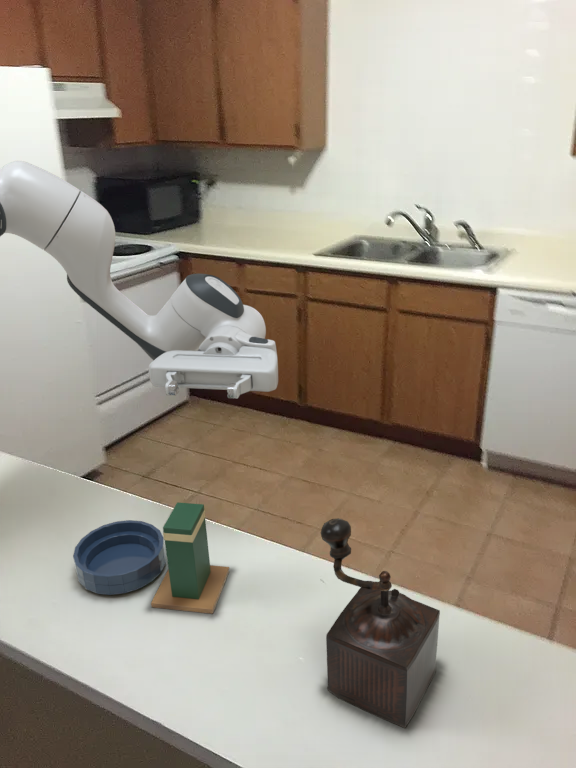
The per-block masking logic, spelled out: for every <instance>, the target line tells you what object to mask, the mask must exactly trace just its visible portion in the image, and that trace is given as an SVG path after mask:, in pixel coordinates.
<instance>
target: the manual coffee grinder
mask: <svg viewBox="0 0 576 768" xmlns="http://www.w3.org/2000/svg"><path fill="white" fill-rule="evenodd" d="M351 536H352V526H351V524H350V522H349V521H347V520H345V519H343V518H339V517H337V518H332V519H329V520H327V521H326V522H324V523H323V525H322V527H321V530H320V537H321V539H322V541H324V542H325V543H326V544H327V545H328V546H329V548H330V551H329V557H330V558H332V559H334V560H333V565H332V566H333V567H332V568H333V571H334V576H335V577H336V578H337V579H338V580H339V581H342V582H343V583H346V584H349V585H353V586H355V587H359V589H358V590H357V591H356V593H355V595H353V597H352V598H350V600H349V602H348V603H347V604H346V606H345V607H344V608H343V610H342V611H341V612H340V614H339V615H338V616H337V618H336V619H335V621H334V623H333V624H332V625H331V627H330V629H329V630H328V632H327V633H326V635H325V636H326V638H325V640H326V641H325V642H326V644H325V645H326V668H327V669H326V670H327V671H326V673H327V675H326V676H327V687H326V689H327V692H329V693H331V694H332V695H333V696H335V697H336V698H338V699H339V700H342V701H343V702H346V703H348V704H350V705H352V706H354V707H356V708H358V709H360V710H363V711H365V712H367V713H369V714H371V715H372V716H375V717H378V718H381V719H383V720H385V721H388V722H390V723H392V724H395V725H397V726H399V727H401V728H404V729H406V727H407V725H408V724H409V723H410V721H411V719H412V718H414V716H415V713H416V711H417V709H418V708H419V705H420V703H421V701H422V700H423V698H424V696H425V694H426V693H427V691H428V689H429V686H430V684H431V683H432V681H433V678H434V676H435V674H436V671H437V669H436V667H437V662H436V661H437V653H438V652H437V651H438V641H439V629H440V627H439V626H440V615H441V611H440V609H437V608H435V607H433V606H431V605H427V604H425V603H422V602H420V601H417V600H416V599H412V598H411V597H409V596H407V595H405V594H404V593H402V592H400V591H399V589H396V588H393V589H392V587H393V584H392V582H391V576H392V575H391V574H390V573H389V571H388V570H382V571H381V572H380V573H379V575H378V578H379V581H374V580H363V579H359V578H355V577H352V576H350V575H348V574H346V573H345V572H344V571H343V569H342V563H343V560H345V559H346V558H347V557H348V556H350V555H351V554H352V547H351V546H350V544H349V543H348V542H349V539H350V537H351Z"/></svg>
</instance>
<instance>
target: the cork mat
mask: <svg viewBox="0 0 576 768" xmlns="http://www.w3.org/2000/svg"><path fill="white" fill-rule="evenodd" d="M210 570H211V572H210V574H209V577H208V579H207V581H206V584H205V586H204V589H203V591H202V593H201V596H200V598H199V599H190V598H180V597H172V592H171V584H170V577H169V569H167V570H166V572H165V575H164V577H163V579H162V581H161V582H160V585H159V586H158V588H157V590H156V592H155V594H154V596H153V598H152V600H151V602H150V607H151V608H154V609H164V610H174V611H183V612H184V611H185V612H193V613H201V614H202V613H203V614H211V615H213V614H214V612H215V609H216V607H217V604H218V601H219V600H220V597H221V594H222V592H223V588H224V586H225V583H226V580H227V579H228V575H229V573H230V567H229V566H224V565H223V566H222V565H213V564H210Z"/></svg>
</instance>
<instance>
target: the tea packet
mask: <svg viewBox="0 0 576 768" xmlns="http://www.w3.org/2000/svg"><path fill="white" fill-rule="evenodd" d="M206 522H207V521H206V510H205V504H203V503H189V502H176V503H175V505H174V507H173V509H172V510H171V512H170V514H169V516H168V517H167V520H166V521H165V523H164V525H163V526H162V531H163V533H162V535H163V537H164V544H165V552H166V563H167V568H168V569H169V577H170V584H171V592H172V597H180V598H190V599H199V598H200V596H201V593H202V591H203V589H204V586H205V584H206V581H207V579H208V577H209V574H210V572H211V570H210V565H211V561H210V552H209V541H208V532H207V531H208V530H207V523H206ZM168 569H167V570H168Z"/></svg>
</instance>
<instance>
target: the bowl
mask: <svg viewBox="0 0 576 768" xmlns="http://www.w3.org/2000/svg"><path fill="white" fill-rule="evenodd" d="M72 558H73V562H74V567H75V572H76V577H77V579H78V583H80V584H81V585H82V587H83V588H84V589H85V590H87V591H89V592H92V593H95V594H97V595H98V594H99V595H109V596H112V595H121V594H127V593H130V592H133V591H136V590H139V589H142V588H143V587H145V586H146V585H149V584H150V583H152V582H153V581H154V580H155V579H156V578H157V577H159V575H160V574H161V573H162V571H163V569H164V568H165V566H166V563H167V554H166V547H165V540H164V536H163V533H162V531H161V530H160V529H159V528H158V527H156V526H155V525H154V524H151V523H149V522H147V521H143V520H131V519H125V520H117V521H113V522H109V523H106V524H103V525H101V526H99V527H96V528H95V529H93V530H91V531H89V532H88V533H87V534H85V535H84V536H83V537H82V538H80V540H79V542H78V543H77V544H76V546H75V547H74V551H73V555H72Z"/></svg>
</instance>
